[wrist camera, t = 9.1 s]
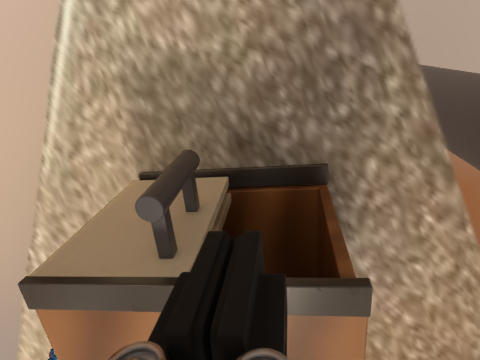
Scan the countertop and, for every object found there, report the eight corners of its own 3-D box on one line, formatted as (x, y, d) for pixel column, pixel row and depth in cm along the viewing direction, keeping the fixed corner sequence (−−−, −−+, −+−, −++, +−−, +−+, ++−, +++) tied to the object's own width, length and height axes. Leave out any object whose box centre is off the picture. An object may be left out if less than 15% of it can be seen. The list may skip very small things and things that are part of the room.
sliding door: (223, 129, 25) (171, 204, 13) (229, 185, 27) (188, 292, 15) (122, 136, 26) (-5, 209, 15) (134, 188, 28) (31, 290, 16)
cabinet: (327, 163, 26) (373, 287, 13) (326, 280, 30) (359, 461, 17) (140, 172, 28) (16, 283, 15) (165, 279, 33) (86, 437, 20)
